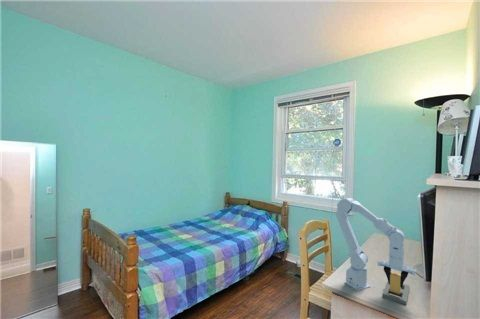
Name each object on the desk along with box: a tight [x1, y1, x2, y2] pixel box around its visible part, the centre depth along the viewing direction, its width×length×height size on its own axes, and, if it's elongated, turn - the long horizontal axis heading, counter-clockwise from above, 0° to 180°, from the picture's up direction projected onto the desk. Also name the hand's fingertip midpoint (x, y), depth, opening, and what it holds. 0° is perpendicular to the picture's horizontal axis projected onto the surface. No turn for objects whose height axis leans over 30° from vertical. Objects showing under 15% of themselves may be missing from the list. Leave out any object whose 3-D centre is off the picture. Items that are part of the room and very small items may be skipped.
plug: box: [390, 271, 402, 294], centre depth 108 cm, size 4×4×8 cm
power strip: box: [381, 280, 410, 306], centre depth 111 cm, size 18×9×2 cm, turn 140°
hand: (395, 285), depth 108 cm, fingers closed on plug, 4 cm apart
